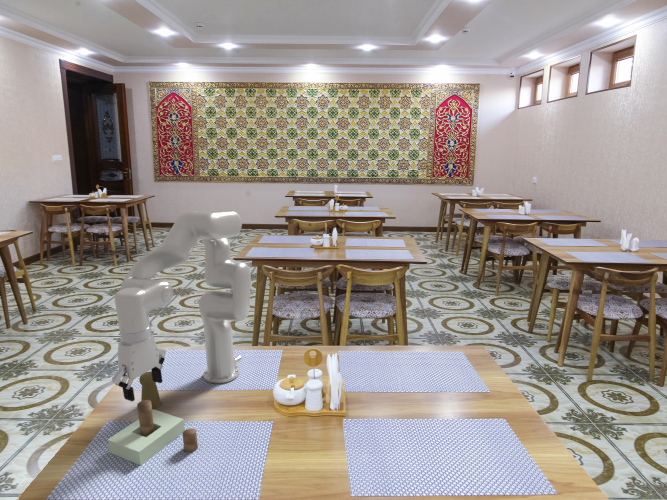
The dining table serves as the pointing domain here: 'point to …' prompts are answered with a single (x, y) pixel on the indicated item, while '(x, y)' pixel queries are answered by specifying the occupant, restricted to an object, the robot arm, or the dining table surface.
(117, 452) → the hole block
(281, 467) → the dining table surface
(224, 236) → the robot arm
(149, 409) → the long peg
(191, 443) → the short peg
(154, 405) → the olive brown pawn
